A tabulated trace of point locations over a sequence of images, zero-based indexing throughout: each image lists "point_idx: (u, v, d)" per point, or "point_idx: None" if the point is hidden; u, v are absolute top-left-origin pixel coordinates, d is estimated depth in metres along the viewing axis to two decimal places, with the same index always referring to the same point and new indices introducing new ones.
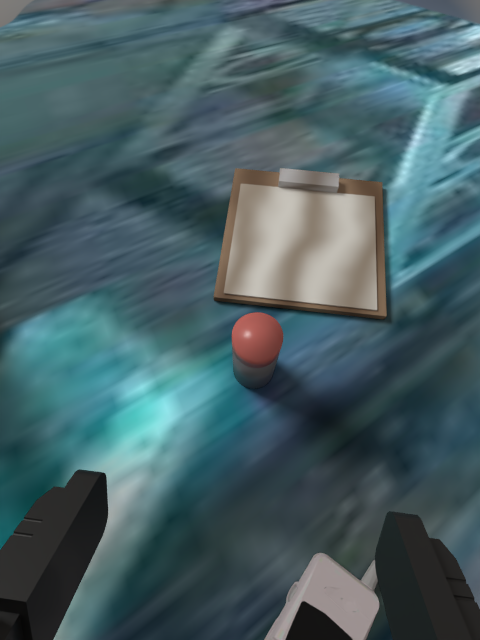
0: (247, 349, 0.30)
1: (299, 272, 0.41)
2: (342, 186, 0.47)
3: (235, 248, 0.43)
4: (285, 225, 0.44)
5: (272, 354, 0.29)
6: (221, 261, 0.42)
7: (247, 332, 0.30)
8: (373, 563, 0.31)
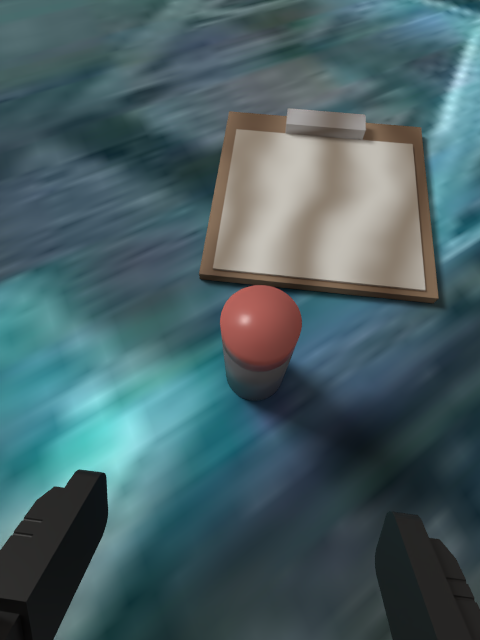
0: (245, 342, 0.18)
1: (316, 240, 0.30)
2: (369, 132, 0.36)
3: (229, 210, 0.32)
4: (295, 180, 0.33)
5: (285, 350, 0.18)
6: (210, 227, 0.31)
7: (245, 315, 0.19)
8: None
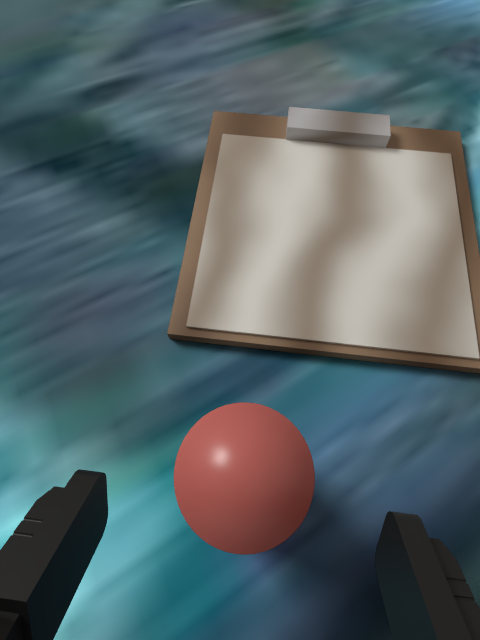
0: (216, 517, 0.11)
1: (327, 286, 0.22)
2: (394, 138, 0.28)
3: (210, 242, 0.24)
4: (299, 202, 0.25)
5: (286, 534, 0.10)
6: (184, 266, 0.23)
7: (217, 462, 0.11)
8: None
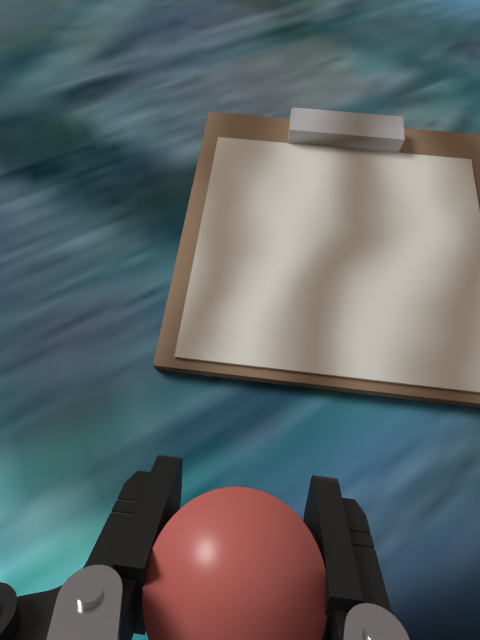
0: None
1: (335, 310, 0.20)
2: (407, 142, 0.25)
3: (203, 259, 0.21)
4: (303, 213, 0.22)
5: None
6: (174, 286, 0.21)
7: (200, 572, 0.08)
8: None
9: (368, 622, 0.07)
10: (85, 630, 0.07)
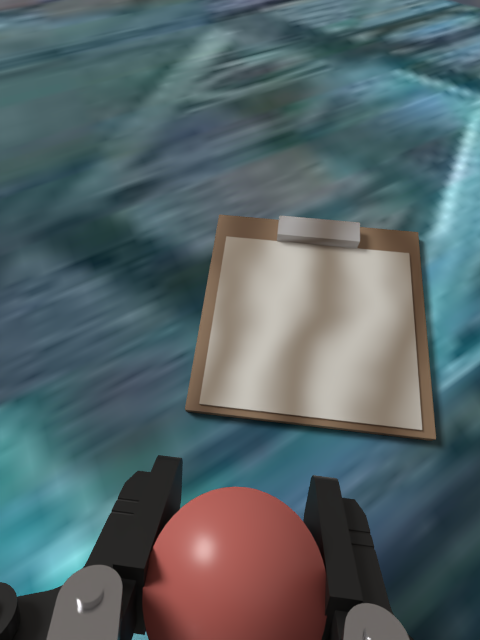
0: None
1: (307, 370, 0.29)
2: (364, 238, 0.34)
3: (217, 333, 0.30)
4: (287, 297, 0.32)
5: None
6: (197, 353, 0.30)
7: (200, 572, 0.08)
8: None
9: (368, 622, 0.07)
10: (84, 629, 0.07)
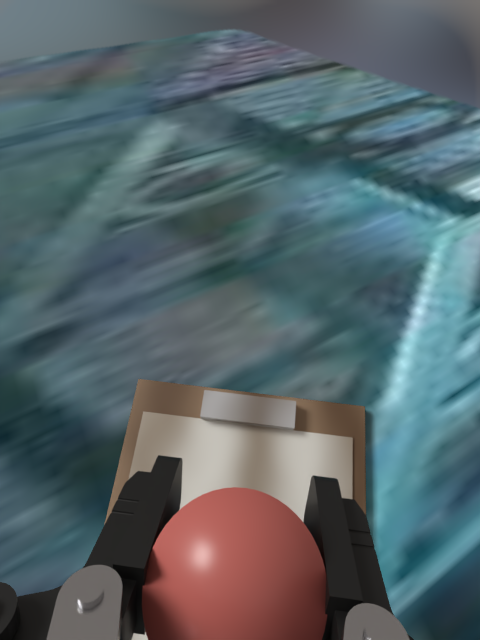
0: None
1: None
2: (302, 415, 0.30)
3: None
4: None
5: None
6: None
7: (200, 572, 0.08)
8: None
9: (368, 622, 0.07)
10: (85, 629, 0.07)
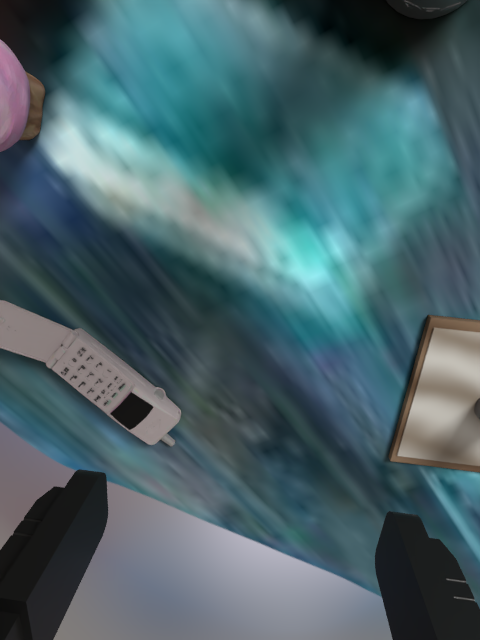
0: None
1: (447, 398, 0.41)
2: None
3: None
4: None
5: None
6: (475, 324, 0.38)
7: None
8: (173, 441, 0.47)
9: None
10: None
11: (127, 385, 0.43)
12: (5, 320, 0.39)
